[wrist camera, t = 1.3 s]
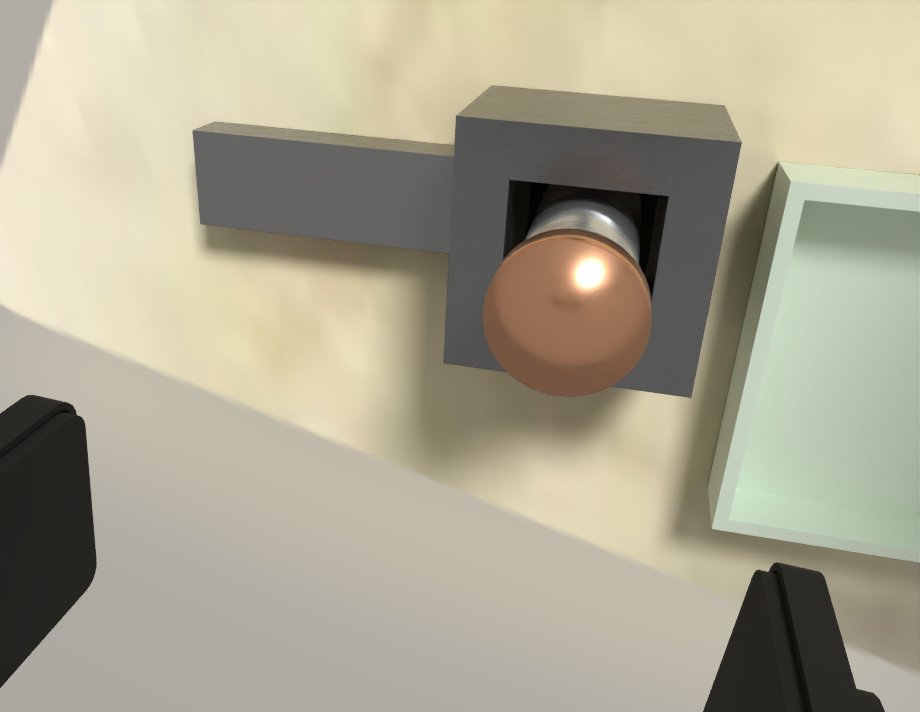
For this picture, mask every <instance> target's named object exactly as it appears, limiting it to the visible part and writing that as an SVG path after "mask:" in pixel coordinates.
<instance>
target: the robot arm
mask: <svg viewBox="0 0 920 712" xmlns="http://www.w3.org/2000/svg"><path fill="white" fill-rule="evenodd" d="M92 514H93V513H92V501H91V490H90V476H89V465H88V453H87V441H86V428H85V422H84V420H83V418H82V417H80V416H78V415H76V410H75V409H74V407H73V405H71V404H69V403H67V402H62V401H58V400H53V399H49V398H44V397H40V396H35V395H27V396H25V397H23V398H21V399H20V400H19V401H17V402H16V403H14V404H13V405H12V406H10V407H9V408H7V409H6V410H5V411H3V412H2V413H1V414H0V688H1V687H2V686H3V684H4V683H5V682H6V681H7V680H8V679H9V678H10V676H11V675H12V674H13V673H14V672H15V671H16V670H17V669H18V667H19V666H20V665H21V664H22V663H23V662H24V661H25V659H26V658H27V657H28V656H29V655H30V654H31V652H32V651H33V650H34V649H35V648H36V647H37V646H38V645H39V644H40V642H41V641H42V640H43V639H44V638H45V637H46V636H47V634H48V633H49V632H50V631H51V630H52V629H53V628H54V626H55V625H56V624H57V623H58V622H59V621H60V620H61V618H62V617H63V616H64V615H65V614H66V613H67V612H68V611H69V609H70V608H71V607H72V606H73V605H74V604H75V603H76V601H77V600H78V599H79V598H80V597H81V596H82V595H83V594H84V592H85V591H86V590H87V589H88V587H89V586H90V584H91V582H92V580H93V578H94V575H95V571H96V549H95V537H94V526H93V515H92ZM703 712H885V711H884V709H883V706H882V704H881V702H880V700H879V698H878V697H877V696H876V695H875V694H874V693H871V692H867V691H863V690H859V689H856V686H855V683H854V679H853V675H852V672H851V669H850V665H849V661H848V658H847V654H846V651H845V647H844V644H843V640H842V637H841V633H840V630H839V626H838V623H837V619H836V616H835V612H834V609H833V605H832V602H831V598H830V595H829V591H828V588H827V584H826V581H825V578H824V576H823V574H822V573H820V572H818V571H813V570H809V569H804V568H800V567H796V566H791V565H787V564H782V563H778V562H777V563H774V564H773V565H772V566H771V568H770V570H769V572H766V571H762V570H756V572H755V573H754V575H753V577H752V579H751V582H750V585H749V587H748V590H747V593H746V596H745V598H744V601H743V604H742V607H741V609H740V612H739V615H738V618H737V620H736V623H735V626H734V628H733V631H732V634H731V637H730V639H729V642H728V645H727V648H726V650H725V653H724V656H723V659H722V661H721V664H720V667H719V670H718V672H717V675H716V678H715V680H714V683H713V686H712V689H711V691H710V695H709V697H708V700H707V702H706V705H705V708H704V711H703Z"/></svg>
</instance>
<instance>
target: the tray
mask: <svg viewBox="0 0 920 712" xmlns="http://www.w3.org/2000/svg"><path fill="white" fill-rule="evenodd" d="M707 488H708V497H709V507H710V517H711V526H712V529H715V530H722V531H728V532H734V533H740V534H746V535H752V536H759V537H765V538H771V539H777V540H783V541H789V542H795V543H802V544H808V545H814V546H820V547H826V548H832V549H838V550H845V551H851V552H857V553H863V554H869V555H875V556H881V557H888V558H894V559H900V560H906V561H912V562H918V563H920V175H913V174H903V173H893V172H882V171H872V170H861V169H851V168H840V167H830V166H820V165H809V164H799V163H788V162H779V163H778V168H777V172H776V177H775V182H774V186H773V191H772V195H771V200H770V204H769V209H768V214H767V218H766V223H765V227H764V232H763V236H762V241H761V246H760V250H759V255H758V259H757V264H756V268H755V273H754V277H753V282H752V287H751V291H750V296H749V300H748V305H747V309H746V314H745V319H744V323H743V328H742V332H741V337H740V341H739V346H738V350H737V355H736V360H735V364H734V369H733V373H732V378H731V382H730V387H729V392H728V396H727V401H726V405H725V410H724V414H723V419H722V423H721V428H720V433H719V437H718V442H717V446H716V451H715V455H714V460H713V465H712V469H711V474H710V478H709V483H708V487H707Z"/></svg>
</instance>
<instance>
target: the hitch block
mask: <svg viewBox="0 0 920 712" xmlns="http://www.w3.org/2000/svg"><path fill="white" fill-rule="evenodd" d="M193 140H194V152H195V164H196V176H197V188H198V200H199V212H200V224H204V225H212V226H221V227H229V228H238V229H246V230H254V231H263V232H271V233H280V234H288V235H296V236H305V237H313V238H322V239H330V240H338V241H347V242H355V243H364V244H372V245H380V246H389V247H397V248H406V249H414V250H422V251H431V252H439V253H448V254H449V267H448V287H447V307H446V327H445V346H444V363H446V364H453V365H460V366H467V367H474V368H482V369H489V370H496V371H503V372H507V371H506V370H505V369H504V368H503V367H502V366H501V365H500V363H499V362H498V361H497V359H496V358H495V356H494V355H493V353H492V351H491V350H490V347H489V345H488V343H487V340H486V336H485V333H484V327H483V305H484V300H485V296H486V293H487V290H488V288H489V286H490V284H491V282H492V279H493V277H494V275H495V273H496V271H497V269H498V267H499V266H500V264H501V263H502V261H503V260H504V258H505V257H506V256H507V255H508V254H509V253H510V252H511V251H512V250H513V249H514V248H515V247H516V246H517V245H519V244H520V243H522V242H523V241H524V240H525V238H526V231H527V220H528V209H529V198H530V187H531V182H537V183H547V184H557V185H566V186H576V187H586V188H595V189H605V190H614V191H624V192H634V193H643V194H653V195H659V197H658V203H657V209H656V215H655V222H654V228H653V234H652V240H651V247H650V253H649V259H648V265H647V272H646V274H644V275H645V278H646V280H647V283H648V286H649V291H650V296H651V330H650V336H649V340H648V344H647V346H646V349H645V351H644V353H643V355H642V357H641V358H640V360H639V362H638V363H637V364H636V366H635V367H634V368H633V369H632V370H631V371H630V372H629V373H628V374H627V375H626V376H625V377H624V378H622V379H621V380H620V381H618V382H617V383H615V384H614V385H612V386H610V387H617V388H625V389H632V390H639V391H646V392H653V393H660V394H668V395H675V396H682V397H689V398H691V396H692V391H693V386H694V381H695V376H696V371H697V366H698V361H699V355H700V350H701V345H702V340H703V335H704V330H705V325H706V320H707V315H708V310H709V305H710V300H711V295H712V290H713V285H714V280H715V275H716V270H717V264H718V259H719V254H720V249H721V244H722V239H723V234H724V229H725V224H726V219H727V214H728V209H729V204H730V199H731V194H732V189H733V184H734V179H735V173H736V168H737V163H738V158H739V153H740V148H741V143H742V142H741V140H740V138H739V136H738V133H737V131H736V129H735V127H734V125H733V123H732V121H731V119H730V116H729V114H728V112H727V110H726V108H725V106H723V105H711V104H700V103H688V102H677V101H665V100H654V99H642V98H631V97H619V96H608V95H596V94H585V93H573V92H562V91H550V90H539V89H527V88H515V87H504V86H491V87H490V88H488V89H487V90H486V91H485V92H484V93H482V94H481V95H480V96H479V97H478V98H477V99H475V100H474V101H473V102H472V103H471V104H469V105H468V106H467V107H466V108H465V109H464V110H462V111H461V112H460V113H459V114H458V115H456V129H455V145H446V144H436V143H426V142H416V141H406V140H396V139H385V138H375V137H365V136H355V135H345V134H335V133H325V132H314V131H304V130H294V129H284V128H274V127H264V126H254V125H243V124H233V123H223V122H213V123H210V124H208V125H205V126H202V127H200V128H197V129H195V130H193Z"/></svg>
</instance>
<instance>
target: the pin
mask: <svg viewBox="0 0 920 712" xmlns="http://www.w3.org/2000/svg"><path fill="white" fill-rule="evenodd" d="M640 225H641V198H640V194H639V193H634V192H624V191H614V190H605V189H595V188H586V187H576V186H566V185H557V184H549V186H548V188H547V190H546V193H545V195H544V197H543V199H542V202H541V204H540V206H539V209H538V211H537V213H536V215H535V218H534V220H533V222H532V224H531V227H530V229H529V231H528V234H527V236H526V238H525V240H524V241H523V242H522V243H520V244H519V245H517V246H516V247H515V248H514V249H513V250H512V251H511V252H510V253H509V254H508V255H507V256H506V257H505V258H504V260H503V261H502V263H501V264H500V266H499V267H498V269H497V271H496V273H495V275H494V277H493V279H492V282H491V284H490V286H489V288H488V290H487V293H486V296H485V300H484V305H483V327H484V333H485V336H486V340H487V343H488V345H489V347H490V350H491V351H492V353H493V355H494V356H495V358H496V359H497V361H498V362H499V363H500V365H501V366H502V367H503V368H504V369H505V370H506V371H507V372H508V373H509V374H510V375H511V376H513V377H514V378H515V379H517V380H518V381H520V382H521V383H523V384H524V385H526V386H528V387H530V388H533V389H535V390H537V391H540V392H543V393H547V394H552V395H557V396H581V395H588V394H592V393H595V392H599V391H601V390H604V389H606V388H608V387H610V386H612V385H614V384H615V383H617V382H618V381H620V380H621V379H622V378H624V377H625V376H626V375H627V374H628V373H629V372H630V371H631V370H632V369H633V368H634V367H635V366H636V364H637V363H638V362H639V360H640V358H641V357H642V355H643V353H644V351H645V349H646V346H647V344H648V340H649V336H650V330H651V296H650V291H649V286H648V283H647V280H646V278H645V275H644V274H643V272H642V270H641V268H640V266H639V250H640Z"/></svg>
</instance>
